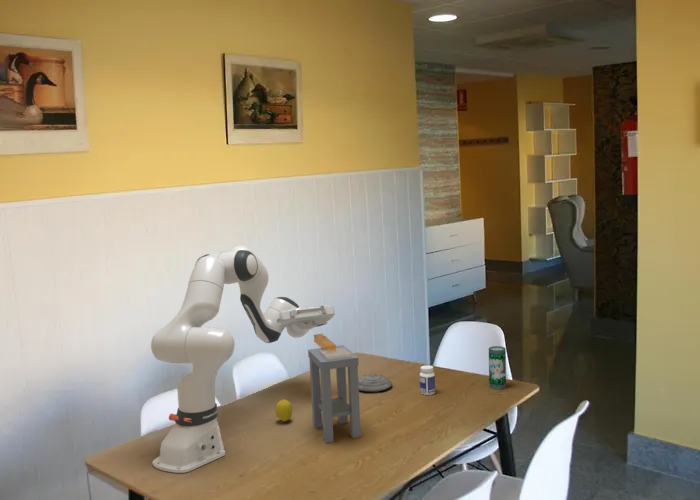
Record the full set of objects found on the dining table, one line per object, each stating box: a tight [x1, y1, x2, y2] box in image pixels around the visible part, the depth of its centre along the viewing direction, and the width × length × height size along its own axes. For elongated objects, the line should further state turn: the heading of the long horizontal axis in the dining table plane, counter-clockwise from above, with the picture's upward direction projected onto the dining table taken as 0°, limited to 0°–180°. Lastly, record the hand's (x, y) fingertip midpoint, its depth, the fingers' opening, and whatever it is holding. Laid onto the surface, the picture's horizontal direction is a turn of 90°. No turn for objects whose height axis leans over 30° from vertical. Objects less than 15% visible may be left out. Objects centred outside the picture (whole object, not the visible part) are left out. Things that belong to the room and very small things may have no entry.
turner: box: [313, 333, 351, 361], centre depth 218 cm, size 24×8×2 cm, turn 18°
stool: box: [307, 344, 361, 444], centre depth 215 cm, size 16×12×26 cm
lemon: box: [275, 398, 293, 423], centre depth 226 cm, size 6×6×8 cm
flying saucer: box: [358, 373, 393, 393], centre depth 258 cm, size 15×15×6 cm
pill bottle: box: [419, 364, 436, 396], centre depth 249 cm, size 6×6×10 cm
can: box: [488, 345, 507, 391], centre depth 252 cm, size 6×6×15 cm
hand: (310, 309), depth 237 cm, fingers open, 8 cm apart
